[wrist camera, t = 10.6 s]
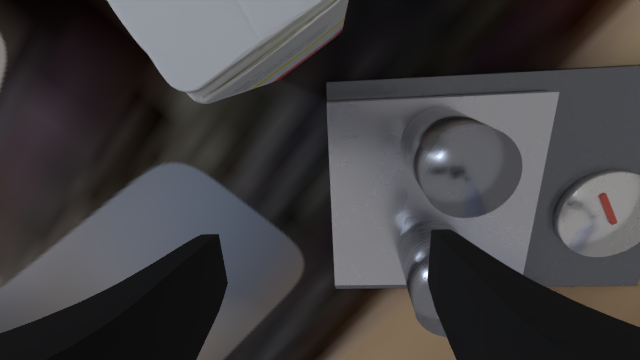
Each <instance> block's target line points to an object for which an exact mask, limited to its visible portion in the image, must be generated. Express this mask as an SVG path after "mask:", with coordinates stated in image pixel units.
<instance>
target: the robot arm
mask: <svg viewBox="0 0 640 360" xmlns="http://www.w3.org/2000/svg"><path fill="white" fill-rule="evenodd" d="M427 281H428V285H429V289H430V293H431V296H432V300H433V303H434V307H435V310H436V312H437V315H438V317H439V319H440V322H441V324H442V327H443V329H444V331H445V334H446V336H447V338H448V341H449V343H450V345H451V348H452V350H453V352H454V355H455V357H456V359H457V360H640V327H637V326H635V325H632V324H629V323H627V322H624V321H621V320H619V319H616V318H614V317H611V316H609V315H606V314H604V313H601V312H599V311H597V310H594V309H592V308H589V307H587V306H585V305H582V304H580V303H578V302H576V301H573V300H571V299H569V298H567V297H565V296H563V295H561V294H559V293H557V292H555V291H553V290H551V289H549V288H547V287H544V286H543V285H541V284H539V283H537V282H535V281H533V280H531V279H529V278H528V277H526V276H524V275H523V274H521V273H519V272H517V271H516V270H514V269H512V268H510V267H509V266H507V265H505V264H504V263H502V262H501V261H499V260H497V259H496V258H494V257H493V256H491V255H490V254H488V253H486V252H485V251H483V250H482V249H480V248H479V247H477V246H476V245H474V244H473V243H471V242H470V241H468V240H467V239H465V238H464V237H462V236H461V235H459V234H458V233H456V232H454V231H453V230H451V229H434V230H431V240H430V253H429V266H428V279H427ZM227 284H228V282H227V276H226V271H225V266H224V260H223V255H222V250H221V245H220V239H219V234H207V235H200V236H198V237H196V238H194V239H192V240H191V241H189V242H187V243H185V244H183V245H182V246H180V247H179V248H177V249H175V250H174V251H172V252H171V253H169V254H167V255H166V256H164V257H162V258H161V259H159V260H158V261H156V262H154V263H153V264H151V265H149V266H148V267H146V268H144V269H142V270H141V271H139V272H137V273H135V274H134V275H132V276H130V277H129V278H127V279H125V280H123V281H122V282H120V283H118V284H116V285H114V286H112V287H110V288H108V289H107V290H104V291H103V292H100V293H98V294H96V295H94V296H92V297H90V298H88V299H86V300H83V301H81V302H79V303H77V304H74V305H72V306H70V307H67V308H65V309H63V310H60V311H58V312H55V313H53V314H50V315H48V316H46V317H43V318H41V319H38V320H36V321H33V322H31V323H28V324H25V325H23V326H20V327H17V328H14V329H12V330H9V331H6V332H3V333H0V360H196V359H197V356H198V355H199V352H200V350H201V348H202V346H203V344H204V342H205V340H206V338H207V335H208V333H209V331H210V329H211V327H212V325H213V323H214V321H215V319H216V316H217V314H218V312H219V310H220V307H221V304H222V301H223V298H224V294H225V290H226V287H227Z"/></svg>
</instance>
